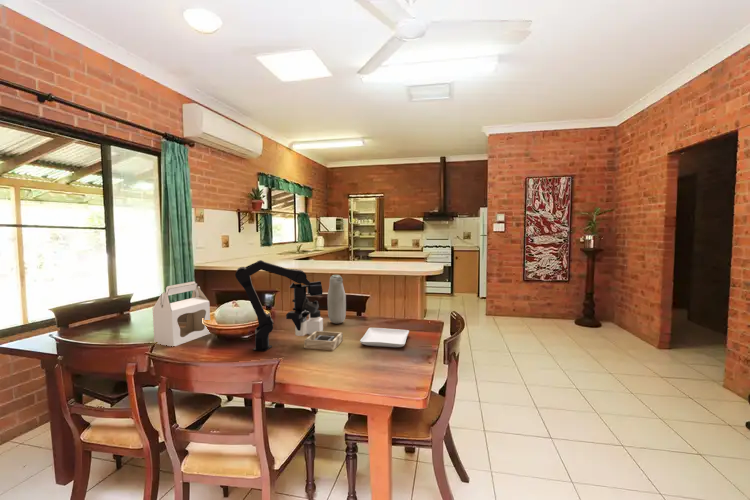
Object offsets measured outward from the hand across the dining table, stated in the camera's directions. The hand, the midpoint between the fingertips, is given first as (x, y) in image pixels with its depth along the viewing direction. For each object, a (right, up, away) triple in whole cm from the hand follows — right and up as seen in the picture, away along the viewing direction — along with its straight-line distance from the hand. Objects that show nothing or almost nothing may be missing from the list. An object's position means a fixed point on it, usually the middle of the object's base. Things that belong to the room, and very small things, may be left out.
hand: (301, 329), depth 166 cm
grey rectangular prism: (0, -3, 0) cm, 3 cm away
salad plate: (+40, -7, +4) cm, 41 cm away
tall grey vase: (+13, -5, +35) cm, 38 cm away
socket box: (+11, -7, 0) cm, 13 cm away
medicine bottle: (+3, -6, +18) cm, 19 cm away
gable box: (-61, -7, +10) cm, 63 cm away
